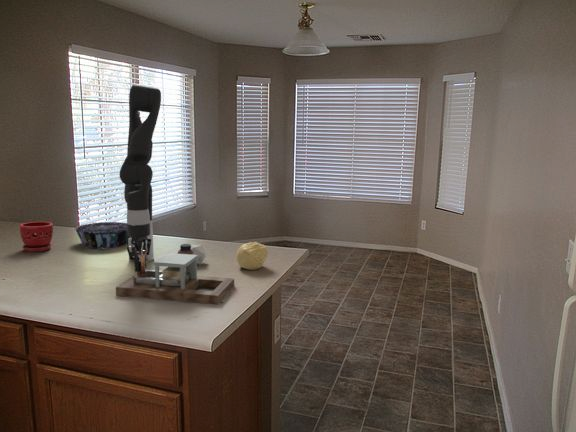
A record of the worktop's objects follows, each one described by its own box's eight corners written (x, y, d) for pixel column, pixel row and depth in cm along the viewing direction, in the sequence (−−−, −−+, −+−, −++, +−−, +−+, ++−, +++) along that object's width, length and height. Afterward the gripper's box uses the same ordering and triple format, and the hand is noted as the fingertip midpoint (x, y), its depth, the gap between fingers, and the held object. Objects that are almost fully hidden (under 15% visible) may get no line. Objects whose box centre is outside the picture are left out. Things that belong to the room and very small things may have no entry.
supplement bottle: (180, 276, 182) (179, 247, 180) (176, 271, 187) (175, 243, 185) (195, 274, 185) (195, 245, 183) (191, 269, 190) (190, 242, 188)
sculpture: (251, 273, 187) (251, 247, 185) (231, 267, 195) (230, 241, 193) (271, 267, 195) (271, 242, 193) (251, 261, 203) (251, 237, 201)
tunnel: (154, 286, 161) (153, 262, 159) (169, 276, 172) (168, 253, 171) (185, 289, 159) (184, 264, 157) (198, 278, 170) (197, 255, 169)
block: (162, 284, 163) (162, 270, 162) (170, 279, 169) (169, 265, 168) (179, 285, 162) (179, 271, 161) (186, 280, 168) (185, 266, 167)
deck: (116, 295, 160) (115, 286, 160) (141, 278, 178) (141, 271, 177) (218, 304, 154) (218, 295, 154) (234, 286, 172) (234, 278, 171)
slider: (130, 282, 164) (129, 257, 162) (143, 274, 172) (142, 250, 171) (180, 286, 161) (179, 261, 159) (190, 278, 169) (190, 254, 168)
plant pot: (45, 253, 210) (43, 226, 208) (15, 252, 210) (13, 226, 208) (59, 246, 223) (58, 221, 220) (32, 245, 223) (29, 220, 221)
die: (195, 269, 193) (209, 249, 195) (178, 258, 194) (191, 238, 195) (199, 270, 201) (212, 251, 203) (182, 259, 202) (195, 240, 203)
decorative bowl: (102, 257, 212) (102, 236, 210) (62, 244, 225) (62, 224, 223) (145, 245, 234) (145, 226, 232) (107, 234, 247) (107, 215, 245)
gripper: (138, 217, 171) (140, 263, 175) (117, 225, 158) (120, 275, 161) (157, 218, 170) (159, 265, 173) (138, 226, 157) (141, 276, 160)
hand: (140, 269), depth 167 cm, fingers closed on slider, 3 cm apart
